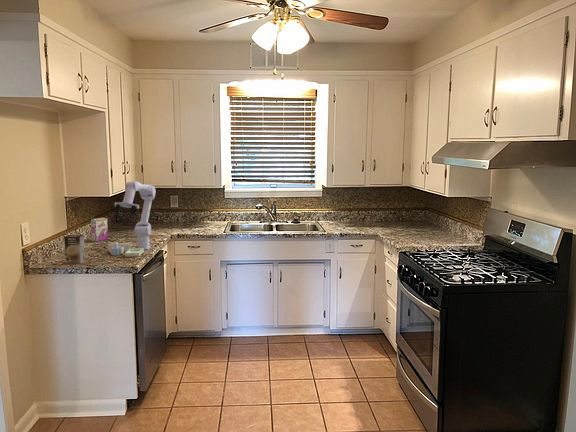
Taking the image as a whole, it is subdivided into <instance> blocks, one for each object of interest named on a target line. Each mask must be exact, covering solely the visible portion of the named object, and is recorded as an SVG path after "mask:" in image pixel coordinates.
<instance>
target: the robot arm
mask: <svg viewBox="0 0 576 432" xmlns="http://www.w3.org/2000/svg"><path fill="white" fill-rule="evenodd" d="M124 186H125V188H124V191H125V193H124V196H123V200H122V201H121V202H120V201H119V202H118V201H117V202H116V201H115V202H114V207H115V209H116V210H115V211H116V218H119V217H120V212H121V210H122V208H125V209H130V214H129V219H130V220H131V219H132V218H133V216H134V215H135V214H136V213H137V211H138V210H139V209H140V204H136V203H133V202H134V198H135V195H136V192H139V195H140V198H141V199H142V200H143V201H144V202H143V207H142V212H141V216H140V221H138V222H137V223H136V224H135V227H134V230H133V232H134V234H135V236H136V237H137V248H144V250H149V249H150V248H151V247H152V246H151V245H150V237H149V236H150V235H151V234H152V225H151V223H149V217H150V213H151V208H152V202H153V200H155V197H156V194H157V193H156V187H155V186H154V185H151V184H142V183H141V182H139V181H138V180H137V181H134V180H133V181H127V182H126V183H125V185H124ZM121 207H122V208H121Z"/></svg>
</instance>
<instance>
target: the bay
mask: <svg viewBox="0 0 576 432" xmlns="http://www.w3.org/2000/svg"><path fill="white" fill-rule="evenodd" d="M118 245H122V247H121V248H120V254H119V255H121V254H124V253H125V252H127V251H128V250H129V249H130V248H131V244H130V242H129V243H126V242H125V243H122V242H121V243H119V242H118ZM107 246H108V252H109V253H111V248H113V247H114V246H115V245H114V243H108V245H107ZM124 251H125V252H124Z"/></svg>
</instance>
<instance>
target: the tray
mask: <svg viewBox="0 0 576 432" xmlns="http://www.w3.org/2000/svg"><path fill="white" fill-rule="evenodd" d="M144 250H145V249H144V248H138V247H135V248H133V247H130V249H129V250H128V251H125V252H124V258H139V257H140V256H141V255H142V254H143V253H144V252H145V251H144Z"/></svg>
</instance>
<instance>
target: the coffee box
mask: <svg viewBox="0 0 576 432" xmlns="http://www.w3.org/2000/svg"><path fill="white" fill-rule="evenodd" d="M64 252H65V264H83V263H85V261H86V260H85V259H86V256H85V254H86V252H85V236H84V234H68V235H66V236H64Z"/></svg>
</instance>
